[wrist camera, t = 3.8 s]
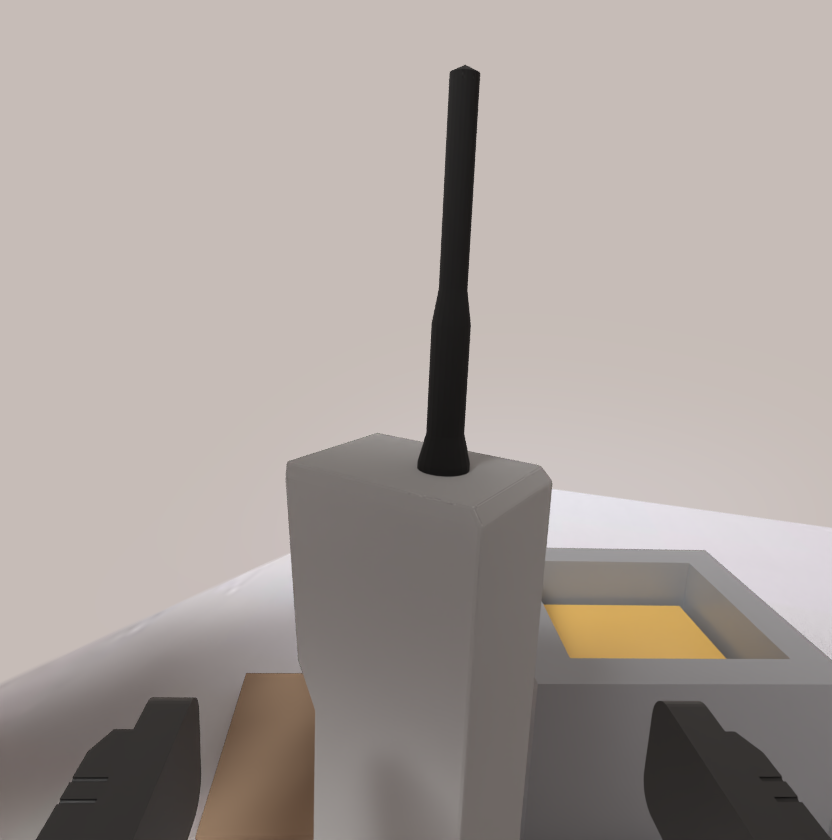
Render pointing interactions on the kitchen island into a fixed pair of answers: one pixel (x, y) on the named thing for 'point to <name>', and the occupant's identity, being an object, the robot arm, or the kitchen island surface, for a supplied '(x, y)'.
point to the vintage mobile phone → (422, 591)
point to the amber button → (630, 632)
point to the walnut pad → (265, 765)
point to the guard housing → (665, 693)
